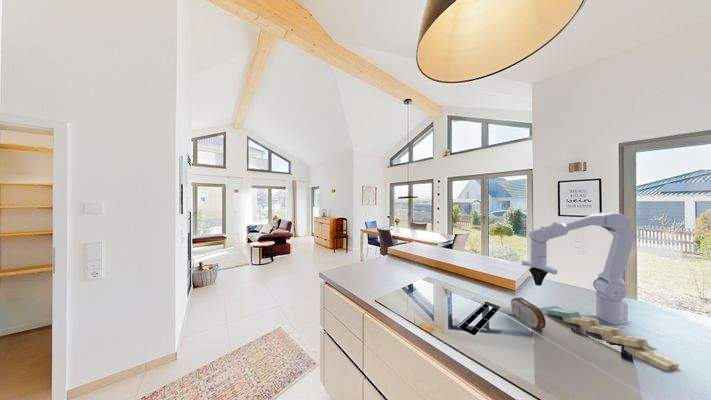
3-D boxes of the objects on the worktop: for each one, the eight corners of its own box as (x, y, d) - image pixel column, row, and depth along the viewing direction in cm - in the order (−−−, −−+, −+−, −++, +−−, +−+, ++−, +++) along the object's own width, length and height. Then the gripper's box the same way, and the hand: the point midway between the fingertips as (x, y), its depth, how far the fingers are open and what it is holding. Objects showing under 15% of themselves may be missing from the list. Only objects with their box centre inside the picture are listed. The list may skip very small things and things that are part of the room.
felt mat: (555, 306, 105) (555, 305, 105) (657, 350, 75) (657, 349, 75) (531, 309, 102) (531, 309, 102) (626, 356, 72) (626, 355, 72)
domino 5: (635, 342, 75) (678, 363, 67) (634, 348, 76) (678, 369, 67) (624, 344, 74) (667, 366, 66) (624, 350, 74) (666, 372, 66)
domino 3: (589, 323, 88) (619, 328, 79) (591, 328, 87) (621, 334, 79) (579, 324, 87) (609, 330, 78) (581, 330, 86) (611, 336, 78)
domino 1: (555, 308, 99) (578, 311, 91) (557, 312, 99) (580, 316, 91) (546, 309, 98) (569, 313, 90) (547, 314, 98) (570, 318, 89)
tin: (546, 333, 84) (546, 311, 84) (538, 333, 84) (538, 311, 84) (516, 313, 100) (516, 294, 99) (509, 313, 99) (509, 294, 99)
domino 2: (571, 315, 94) (597, 319, 85) (573, 320, 93) (599, 325, 85) (562, 316, 92) (587, 321, 84) (563, 321, 92) (589, 326, 84)
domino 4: (611, 332, 81) (646, 338, 73) (613, 338, 81) (648, 345, 72) (600, 334, 80) (635, 341, 72) (602, 340, 80) (637, 347, 71)
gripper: (516, 252, 110) (516, 280, 111) (548, 260, 96) (547, 292, 96) (528, 251, 112) (528, 279, 112) (561, 259, 98) (560, 290, 98)
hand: (538, 285), depth 104 cm, fingers closed
